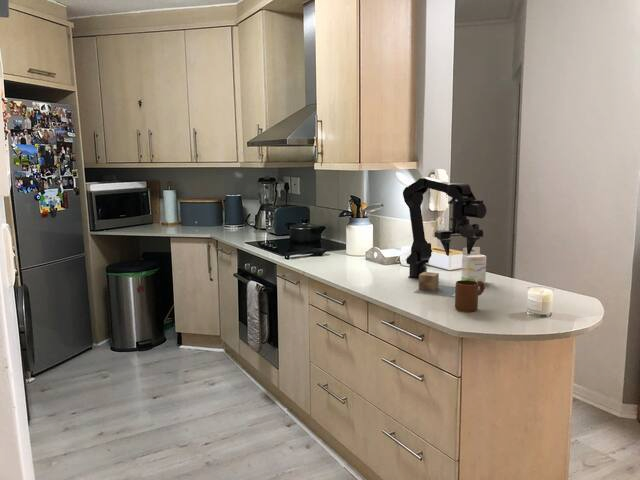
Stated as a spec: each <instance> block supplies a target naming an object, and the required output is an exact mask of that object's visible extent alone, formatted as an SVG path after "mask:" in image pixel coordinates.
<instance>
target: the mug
mask: <svg viewBox="0 0 640 480" xmlns="http://www.w3.org/2000/svg"><path fill="white" fill-rule="evenodd" d="M454 287H455V298H454V308H455V310H457V311H459V312H464V313H474V312H476V311H477V310H478V307H479V296H481V295H482V294H483V293H484V292H485V289H486V288H485V287H486V285H485V283H483V282H482V281H477V282H475V281H470V280H457V281H456V282H455V286H454ZM478 289H479V290H478Z"/></svg>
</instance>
